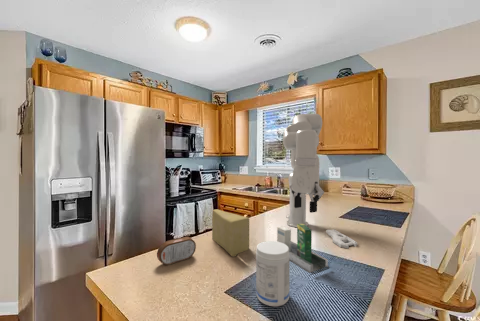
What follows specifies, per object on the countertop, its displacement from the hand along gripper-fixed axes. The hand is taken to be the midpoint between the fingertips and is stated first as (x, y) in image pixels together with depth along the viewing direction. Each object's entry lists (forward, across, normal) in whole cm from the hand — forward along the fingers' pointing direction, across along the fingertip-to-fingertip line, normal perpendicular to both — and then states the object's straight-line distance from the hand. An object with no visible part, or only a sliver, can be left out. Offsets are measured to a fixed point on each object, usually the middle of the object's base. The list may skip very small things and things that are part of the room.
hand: (305, 209), depth 83 cm
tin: (+21, -25, -42) cm, 53 cm away
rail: (+21, -4, 0) cm, 21 cm away
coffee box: (+20, 0, 0) cm, 20 cm away
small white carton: (+20, -12, 0) cm, 23 cm away
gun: (+21, -9, +32) cm, 40 cm away
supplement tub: (+21, +10, -23) cm, 33 cm away
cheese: (+21, -29, -19) cm, 41 cm away
